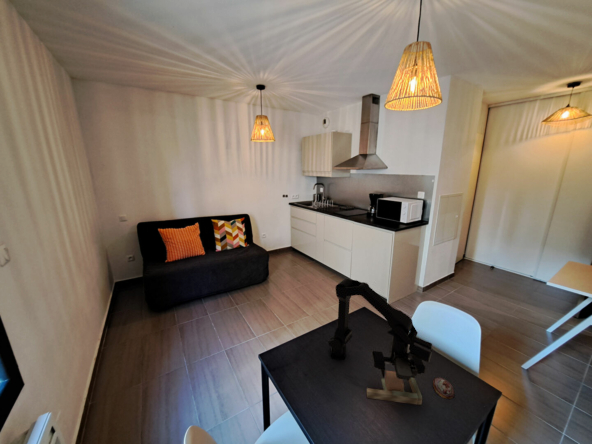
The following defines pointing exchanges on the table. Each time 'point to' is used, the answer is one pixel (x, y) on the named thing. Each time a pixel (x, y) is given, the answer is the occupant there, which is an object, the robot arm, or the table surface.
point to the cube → (393, 382)
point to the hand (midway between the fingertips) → (395, 378)
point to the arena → (397, 394)
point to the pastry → (443, 388)
